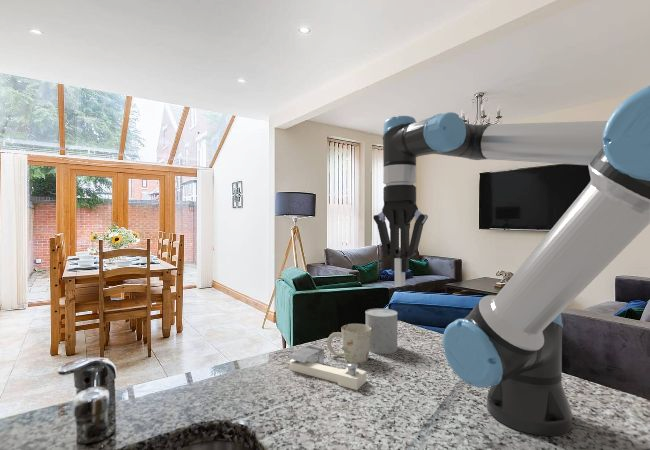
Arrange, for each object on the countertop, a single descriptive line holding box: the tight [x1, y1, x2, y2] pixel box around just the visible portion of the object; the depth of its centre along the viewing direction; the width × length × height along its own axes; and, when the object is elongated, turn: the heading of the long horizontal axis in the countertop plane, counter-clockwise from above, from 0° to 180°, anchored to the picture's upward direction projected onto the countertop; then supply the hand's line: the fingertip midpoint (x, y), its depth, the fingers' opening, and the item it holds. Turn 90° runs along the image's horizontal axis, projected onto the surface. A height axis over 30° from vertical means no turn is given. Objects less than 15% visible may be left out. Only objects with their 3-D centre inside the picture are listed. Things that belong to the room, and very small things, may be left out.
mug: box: [326, 323, 371, 364], centre depth 102 cm, size 8×13×10 cm, turn 78°
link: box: [289, 359, 367, 391], centre depth 90 cm, size 20×5×2 cm, turn 58°
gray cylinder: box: [364, 307, 399, 355], centre depth 109 cm, size 10×10×12 cm
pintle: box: [346, 362, 359, 376], centre depth 86 cm, size 3×3×5 cm
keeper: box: [288, 344, 325, 365], centre depth 96 cm, size 5×8×5 cm, turn 144°
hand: (399, 285), depth 86 cm, fingers closed
